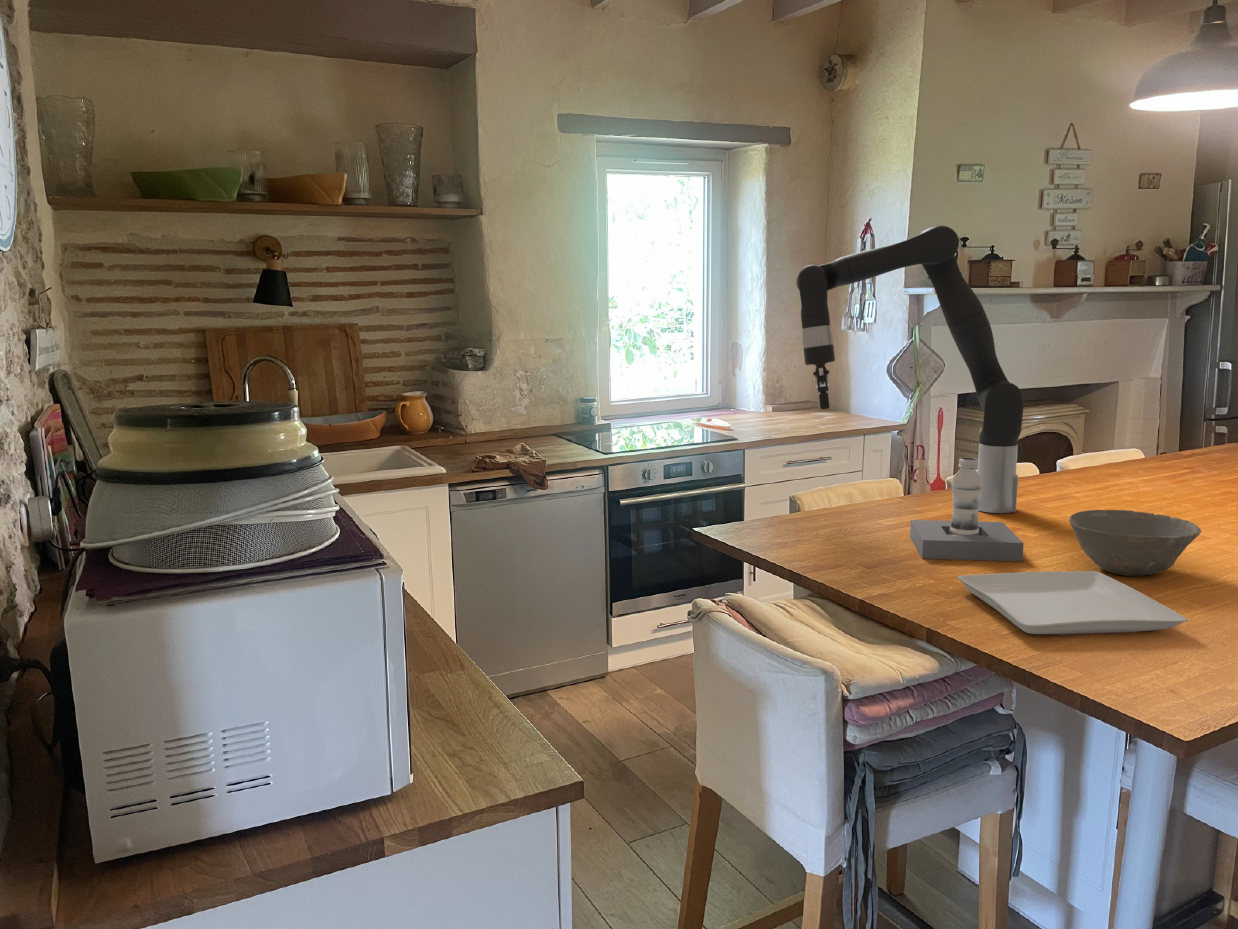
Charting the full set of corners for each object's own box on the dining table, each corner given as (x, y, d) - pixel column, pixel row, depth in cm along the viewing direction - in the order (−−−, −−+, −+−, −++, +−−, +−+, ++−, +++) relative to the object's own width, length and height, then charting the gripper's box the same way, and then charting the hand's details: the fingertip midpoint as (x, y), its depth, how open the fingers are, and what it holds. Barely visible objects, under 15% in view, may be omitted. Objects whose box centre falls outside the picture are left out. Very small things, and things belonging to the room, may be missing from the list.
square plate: (1095, 588, 172) (1097, 568, 171) (1189, 641, 145) (1191, 618, 145) (954, 591, 171) (955, 571, 171) (1022, 645, 144) (1024, 622, 144)
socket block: (1001, 539, 206) (1002, 522, 205) (1022, 561, 188) (1023, 543, 188) (910, 536, 209) (910, 519, 208) (922, 558, 192) (922, 540, 191)
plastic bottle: (974, 544, 202) (979, 456, 198) (983, 552, 195) (988, 461, 192) (944, 544, 202) (948, 456, 199) (952, 552, 196) (956, 461, 192)
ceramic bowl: (1040, 562, 188) (1043, 515, 186) (1123, 550, 195) (1127, 505, 194) (1134, 594, 167) (1139, 541, 165) (1222, 579, 175) (1227, 529, 173)
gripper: (833, 342, 223) (840, 407, 224) (832, 344, 237) (839, 405, 238) (802, 346, 224) (809, 411, 225) (803, 347, 238) (810, 409, 239)
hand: (825, 408), depth 232 cm, fingers open, 8 cm apart
